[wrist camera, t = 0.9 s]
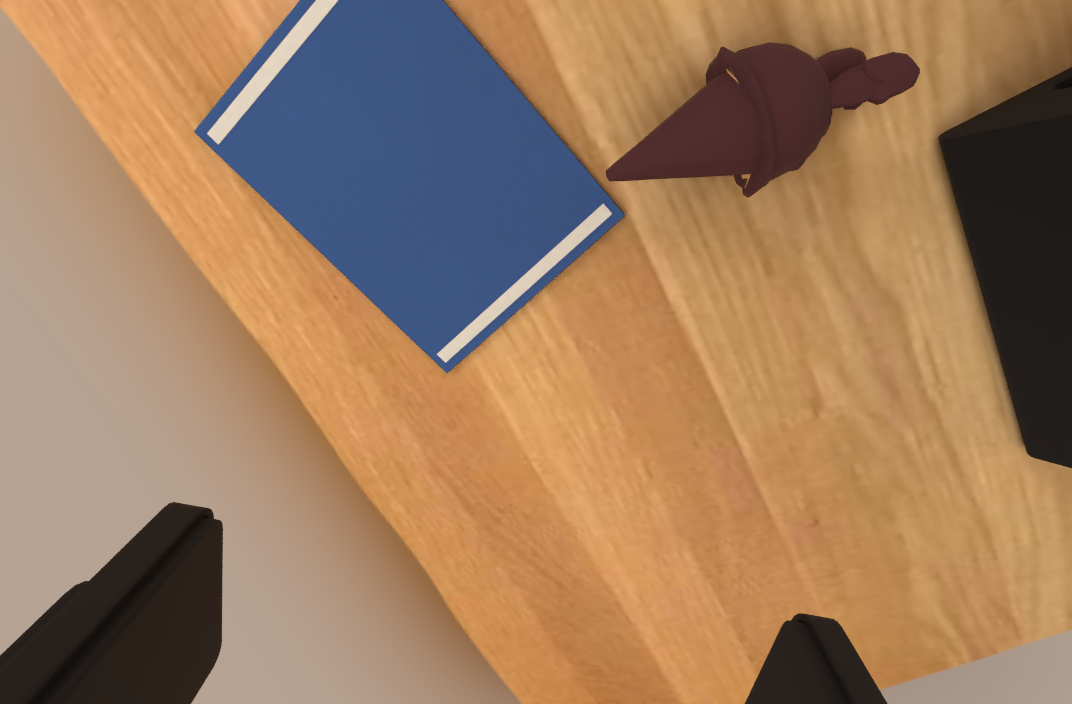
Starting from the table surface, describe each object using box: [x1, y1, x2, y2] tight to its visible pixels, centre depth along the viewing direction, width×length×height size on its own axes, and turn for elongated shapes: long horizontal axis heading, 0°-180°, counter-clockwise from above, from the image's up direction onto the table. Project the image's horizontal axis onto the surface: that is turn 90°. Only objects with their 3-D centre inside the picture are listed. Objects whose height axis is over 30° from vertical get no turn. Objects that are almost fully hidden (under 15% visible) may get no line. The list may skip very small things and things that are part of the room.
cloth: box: [194, 0, 625, 373], centre depth 33 cm, size 15×20×1 cm
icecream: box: [606, 43, 920, 197], centre depth 29 cm, size 7×7×15 cm
